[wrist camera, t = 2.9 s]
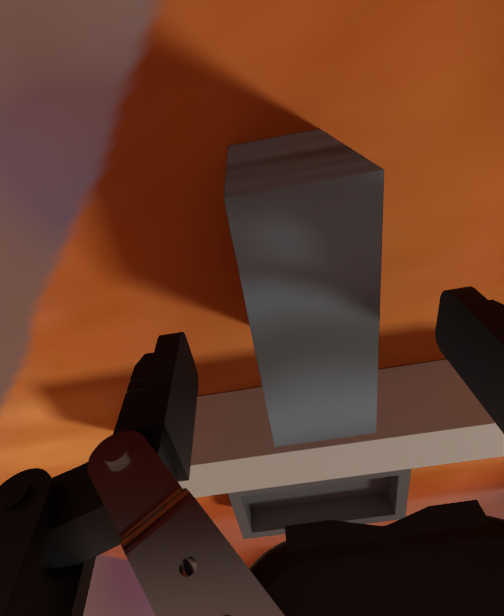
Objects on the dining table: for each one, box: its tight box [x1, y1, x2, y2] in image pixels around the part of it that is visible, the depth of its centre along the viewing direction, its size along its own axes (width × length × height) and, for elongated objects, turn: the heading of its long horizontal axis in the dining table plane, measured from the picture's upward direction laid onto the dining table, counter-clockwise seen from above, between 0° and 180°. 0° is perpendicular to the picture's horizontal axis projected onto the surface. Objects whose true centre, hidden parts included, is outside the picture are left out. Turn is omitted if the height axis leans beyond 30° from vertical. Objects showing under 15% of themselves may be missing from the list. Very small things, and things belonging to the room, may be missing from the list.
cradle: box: [228, 469, 411, 539], centre depth 28 cm, size 13×7×2 cm, turn 99°
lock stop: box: [224, 129, 384, 447], centre depth 15 cm, size 10×4×8 cm, turn 9°
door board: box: [178, 359, 504, 498], centre depth 22 cm, size 24×3×5 cm, turn 99°
